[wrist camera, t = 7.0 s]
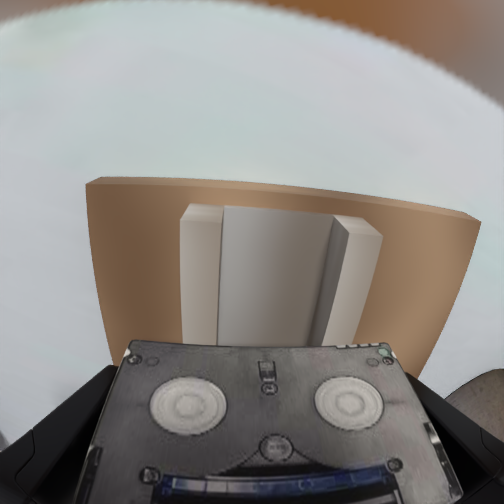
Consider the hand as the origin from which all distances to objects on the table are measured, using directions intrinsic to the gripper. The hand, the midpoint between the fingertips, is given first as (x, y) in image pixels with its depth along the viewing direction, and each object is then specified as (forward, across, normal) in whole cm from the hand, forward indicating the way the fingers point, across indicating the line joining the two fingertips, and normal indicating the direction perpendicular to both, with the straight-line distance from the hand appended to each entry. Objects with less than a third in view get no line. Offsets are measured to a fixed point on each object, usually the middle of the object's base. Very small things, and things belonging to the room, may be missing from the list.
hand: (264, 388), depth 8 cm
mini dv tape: (+1, 0, 0) cm, 1 cm away
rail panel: (+4, -1, +1) cm, 4 cm away
